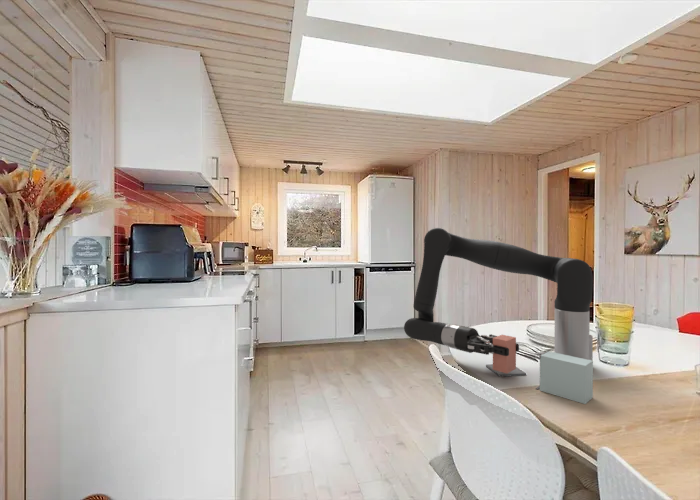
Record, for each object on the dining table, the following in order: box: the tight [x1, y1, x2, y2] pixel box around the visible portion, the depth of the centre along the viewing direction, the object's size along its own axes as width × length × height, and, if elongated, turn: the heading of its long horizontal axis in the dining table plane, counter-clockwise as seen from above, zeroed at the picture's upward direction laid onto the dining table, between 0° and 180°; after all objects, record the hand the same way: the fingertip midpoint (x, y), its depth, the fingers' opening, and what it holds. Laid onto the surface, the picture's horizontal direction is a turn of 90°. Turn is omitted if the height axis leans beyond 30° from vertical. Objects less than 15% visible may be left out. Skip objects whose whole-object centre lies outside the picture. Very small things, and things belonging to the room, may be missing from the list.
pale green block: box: [535, 350, 594, 405], centre depth 85 cm, size 11×6×9 cm, turn 40°
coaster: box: [485, 363, 527, 377], centre depth 100 cm, size 8×8×1 cm
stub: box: [492, 334, 517, 373], centre depth 96 cm, size 4×6×9 cm
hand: (513, 350), depth 94 cm, fingers closed on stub, 5 cm apart
